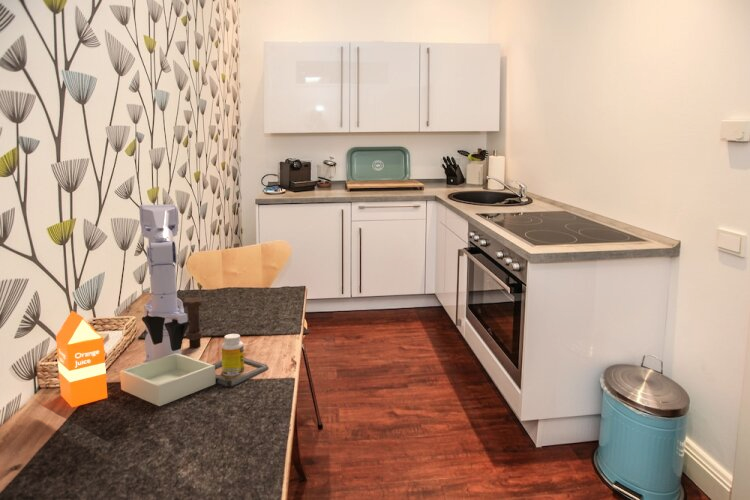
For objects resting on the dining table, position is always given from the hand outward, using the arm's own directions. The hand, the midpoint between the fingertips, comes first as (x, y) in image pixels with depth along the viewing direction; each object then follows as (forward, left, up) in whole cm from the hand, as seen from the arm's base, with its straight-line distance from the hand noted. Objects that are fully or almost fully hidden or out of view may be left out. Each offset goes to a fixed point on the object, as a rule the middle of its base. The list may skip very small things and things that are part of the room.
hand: (166, 346), depth 129 cm
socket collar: (+6, +15, -10) cm, 19 cm away
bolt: (-18, +21, -10) cm, 30 cm away
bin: (0, 0, -10) cm, 10 cm away
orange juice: (-11, -15, -10) cm, 21 cm away
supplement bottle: (+6, +15, -10) cm, 19 cm away
